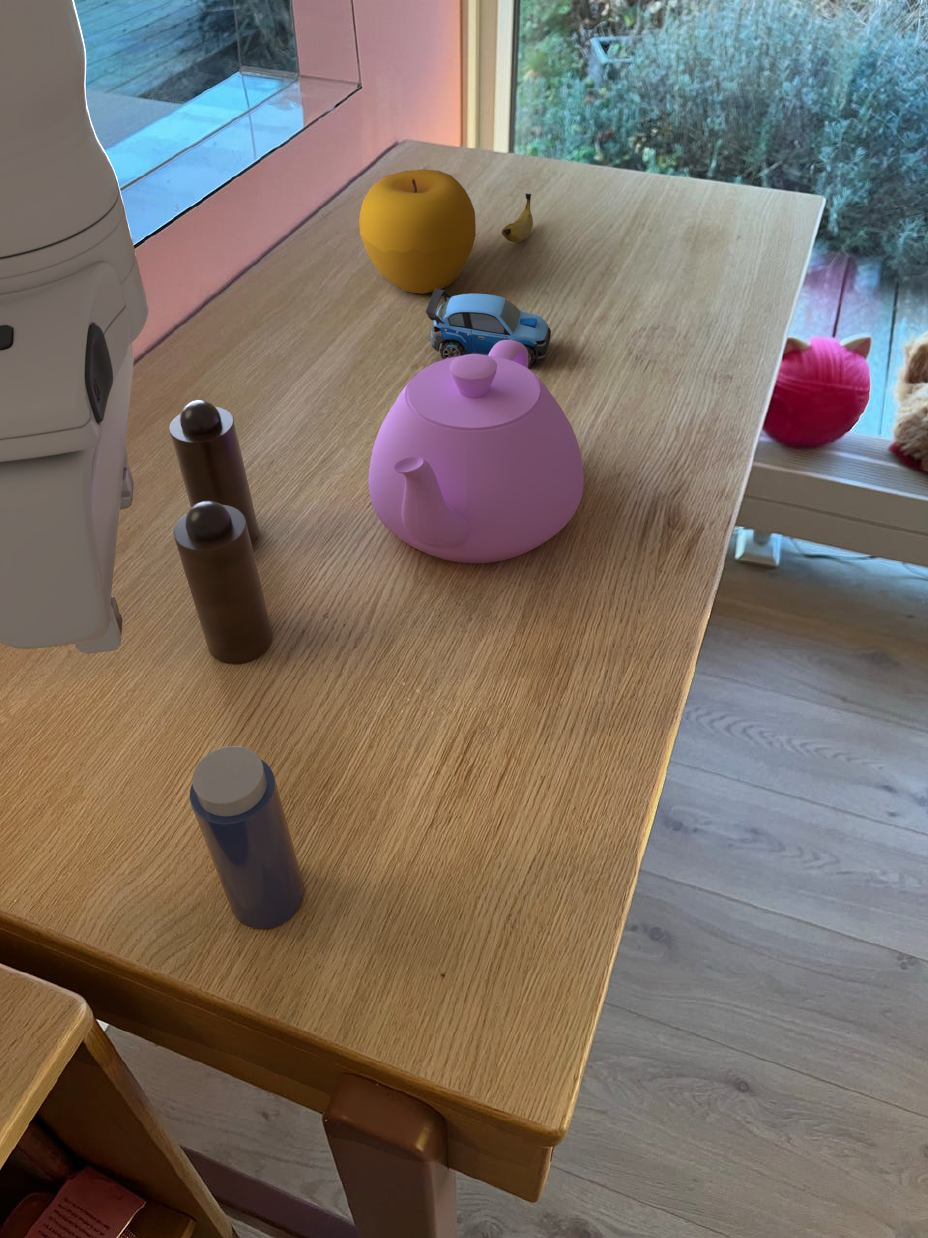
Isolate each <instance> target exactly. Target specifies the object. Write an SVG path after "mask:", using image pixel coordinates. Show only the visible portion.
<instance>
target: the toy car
mask: <svg viewBox="0 0 928 1238" xmlns="http://www.w3.org/2000/svg"><path fill="white" fill-rule="evenodd" d="M442 297H443V299H444V302H442V303H441V304H440V306H439V303H440V301H441V300H442V299H441V298H442ZM437 308H438V309H437ZM425 313H426V316H427V317H428V319H430V320H431V321H433V323H432V327H431V330H430V335H429V339H428V340H429V343H431V347H432V349H434V351H436V352H437V353H439V354H440V358H441V360H444V359H447V358H452V357H457V356H463V355H468V354H481V355H489V353H490V351H491V349H492V348H493V347H494V345H495V344H496V343H498V342H499V341H502V340H514V341H517V342H520V343H521V344H523V345H524V346H525V347H526V349H527V352H528V368H529V367H530V366H532V365H533V363H535V362H541V361H544V360H545V359H546V358H547V356H548V353H549V350H550V344H551V336H552V330H551V328H550V327H549V324H548V322H546V320H545V319H544V318H543V317H541V316H540V315H538V314H534V313H531V312H526V311H523V310H521V309H519V308H518V307H517V306H516V305H515V304H514V303H512V302H511V301H510V300H508V299H506V298H504V297H503V296H500V295H495V294H486V293H462V294H457V295H453V296H451V295H450V294H449V293H448V292H447V291H446V290H443V289H440V290H439V289H437V288H435V289H434V291H433V292H432V294H431V296H430V299H429V302H428V304H427V306H426V310H425Z"/></svg>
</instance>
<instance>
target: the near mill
mask: <svg viewBox="0 0 928 1238" xmlns="http://www.w3.org/2000/svg"><path fill="white" fill-rule="evenodd" d="M173 538H174V541H175V544H176V548H177V551H178V555H179V557H180V561H181V564H182V567H183V571H184V574H185V577H186V580H187V584H188V587H189V590H190V593H191V597H192V600H193V603H194V607H195V610H196V613H197V616H198V620H199V623H200V627H201V630H202V633H203V636H204V639H205V643H206V646H207V649H208V652H209V653H210V655H211V657H213V658H214V659H215V660H217V661H219V662H220V663H221V662H222V663H224V664H229V665H241V664H245V663H249V662H252V661H254V660H256V659H258V658H260V657H261V656H263V655H264V654H265V653H266V652H267V651H268V649H269V648H270V647H271V644H272V642H273V638H274V637H273V636H274V635H273V629H272V626H271V621H270V616H269V613H268V608H267V604H266V600H265V595H264V591H263V588H262V583H261V579H260V575H259V571H258V566H257V561H256V557H255V553H254V550H253V549H254V548H253V544H251V540H250V536H249V532H248V527H247V523H246V519H245V517H244V515H243V514H242V513H241V512H240V511H239V510H237V509H236V508H233V507H231V506H227V505H221V504H219V503H217V502H214V501H202V502H199V503H197V504H195V505H194V506H193V507H192V508H191V507H190V508H189V509H188V512H187V513H185V514H183V515H182V516H181V517H180V518H179V519H178V520H177V522H176V523H175V525H174V527H173Z"/></svg>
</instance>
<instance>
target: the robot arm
mask: <svg viewBox="0 0 928 1238" xmlns="http://www.w3.org/2000/svg"><path fill="white" fill-rule="evenodd" d="M81 28H82V27H81V24H80V19H79V16H78V12H77V8H76V4H75V0H0V643H1V644H3V645H6V646H8V647H11V648H14V649H19V650H31V649H46V648H47V649H48V648H57V647H64V646H70V645H75V647H76V649H77V650H78V651H79V652H80V653H85V654H88V655H90V654H96V653H97V654H98V653H105V652H113V651H116V650H119V648H120V647H121V644H122V643H121V642H122V636H123V635H122V634H123V617H122V614H121V613H120V608H119V605H118V601H117V599H116V597H115V596H112V593H113V581H114V572H115V562H116V561H115V560H116V552H117V551H116V550H117V549H116V548H117V539H118V529H119V520H120V519H119V518H120V510H125V509H129V508H130V507H131V506H132V503H133V499H134V498H133V497H134V489H135V488H134V487H135V482H134V479H133V475H132V471H131V468H130V464H129V461H128V449H127V436H128V425H129V417H130V416H129V415H130V404H131V394H132V384H133V374H134V362H135V361H134V351H133V342H135V340H136V339H137V338H138V337H139V336H140V334H141V333H142V332H143V329H144V327H145V325H146V323H147V320H148V315H149V304H148V300H147V299H148V298H147V295H146V291H145V287H144V283H143V278H142V274H141V271H140V266H139V263H138V258H137V253H136V249H135V245H134V242H133V237H132V233H131V229H130V225H129V220H128V217H127V212H126V207H125V204H124V200H123V196H122V192H121V188H120V183H119V180H118V176H117V174H116V171H115V168H114V166H113V164H112V162H111V160H110V158H109V156H108V154H107V153H106V151H105V149H104V147H103V146H102V144H101V142H100V140H99V138H98V137H97V133H96V131H95V129H94V125H93V123H92V120H91V115H90V111H89V108H88V101H87V95H86V94H87V93H86V92H87V91H86V89H87V88H86V80H87V79H86V76H87V52H86V45H85V40H84V36H83V32H82V29H81Z"/></svg>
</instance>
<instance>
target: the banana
mask: <svg viewBox="0 0 928 1238" xmlns="http://www.w3.org/2000/svg"><path fill="white" fill-rule="evenodd" d="M524 194H525V199H526V204H525V207H524V209H523V211H522V212H521V214H520V215H519V217H518V218H517V219H516V220H515V221H514V222H511V223H508V224H506V225H505V226H504V227H503V228H502V230H501V236H503V237H504V238H505V240H507V241H508V242H510V243H512V244H518V243H520V242H523V241H524V240H525V239H527V238H528V237H529V235H530V234H531V232H532V230H533V224H534V219H533V214H532V212H531V200H532V193H526V192H525V193H524Z"/></svg>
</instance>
